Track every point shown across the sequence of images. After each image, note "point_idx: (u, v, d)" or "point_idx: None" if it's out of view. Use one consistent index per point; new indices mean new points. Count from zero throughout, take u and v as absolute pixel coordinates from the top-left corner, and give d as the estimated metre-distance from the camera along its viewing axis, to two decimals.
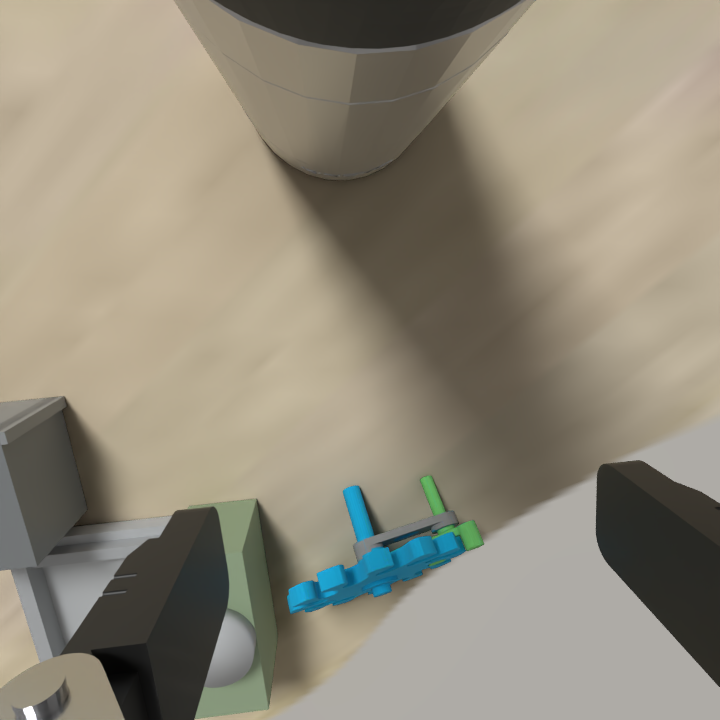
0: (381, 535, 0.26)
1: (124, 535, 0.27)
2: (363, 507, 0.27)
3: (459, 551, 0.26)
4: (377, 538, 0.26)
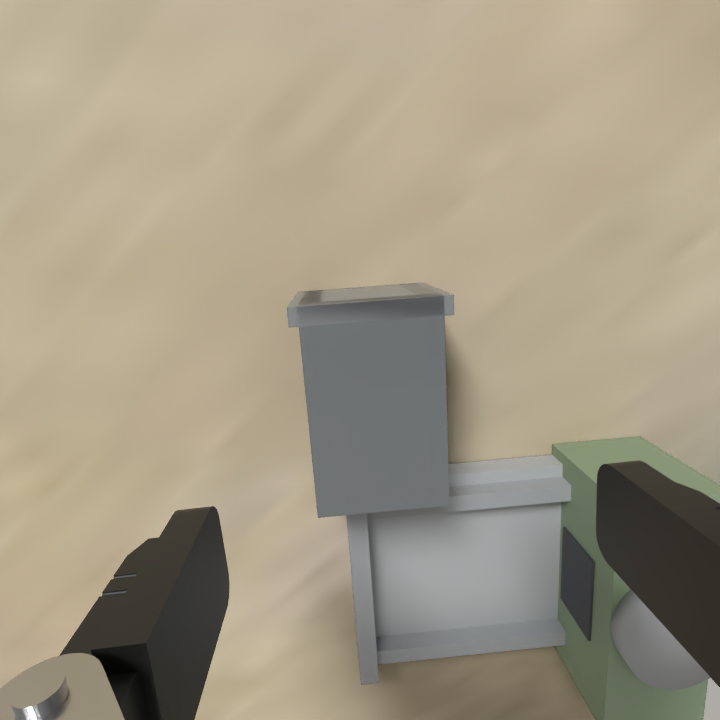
0: None
1: (480, 479, 0.20)
2: None
3: None
4: None
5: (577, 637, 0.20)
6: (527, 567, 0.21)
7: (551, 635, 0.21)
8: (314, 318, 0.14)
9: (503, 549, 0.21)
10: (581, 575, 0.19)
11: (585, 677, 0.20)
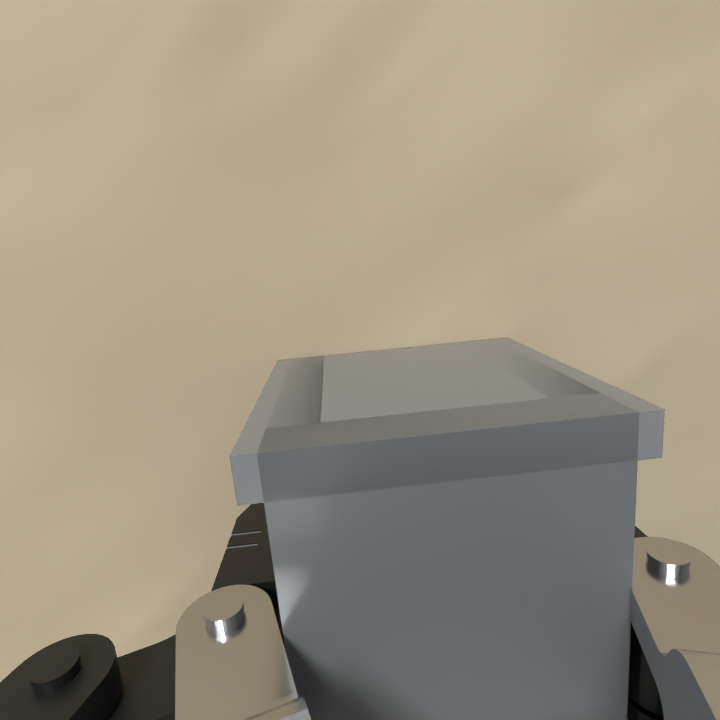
0: None
1: None
2: None
3: None
4: None
5: None
6: None
7: None
8: (304, 480, 0.05)
9: None
10: None
11: None
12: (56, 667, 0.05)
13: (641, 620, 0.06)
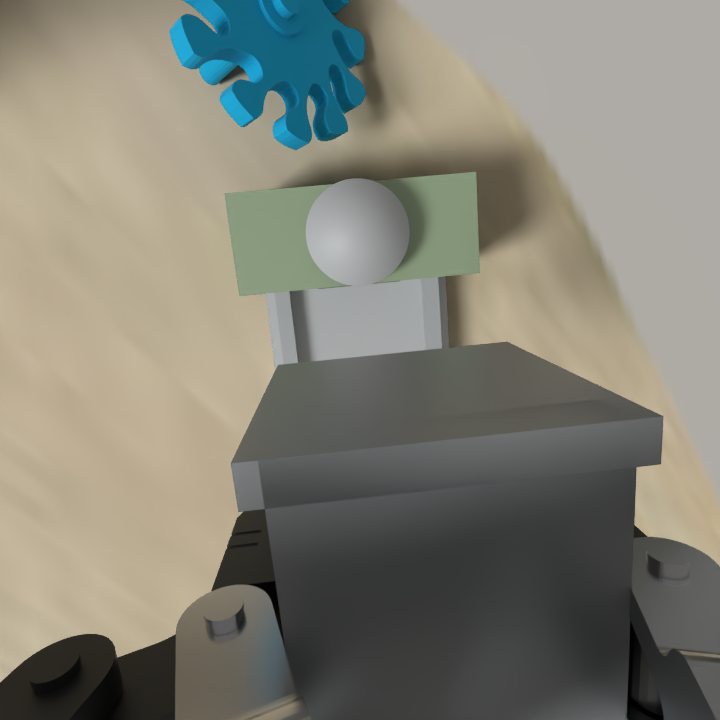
0: None
1: (280, 357, 0.24)
2: None
3: None
4: None
5: None
6: (365, 308, 0.24)
7: (426, 287, 0.23)
8: (304, 487, 0.05)
9: (347, 331, 0.24)
10: None
11: None
12: (56, 667, 0.05)
13: (641, 620, 0.06)
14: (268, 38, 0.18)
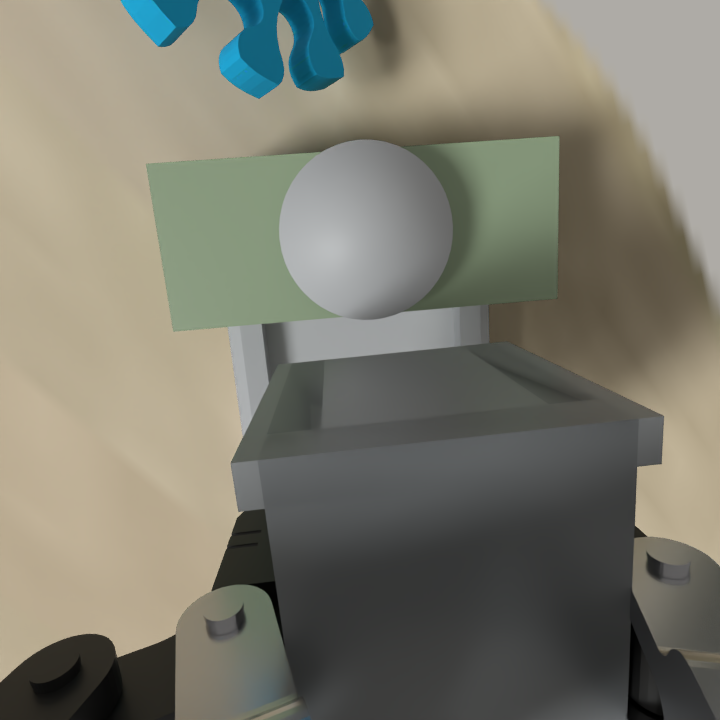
0: None
1: (249, 411, 0.17)
2: None
3: None
4: None
5: None
6: (372, 341, 0.17)
7: (462, 313, 0.16)
8: (304, 487, 0.05)
9: None
10: None
11: None
12: (56, 667, 0.05)
13: (641, 620, 0.06)
14: None
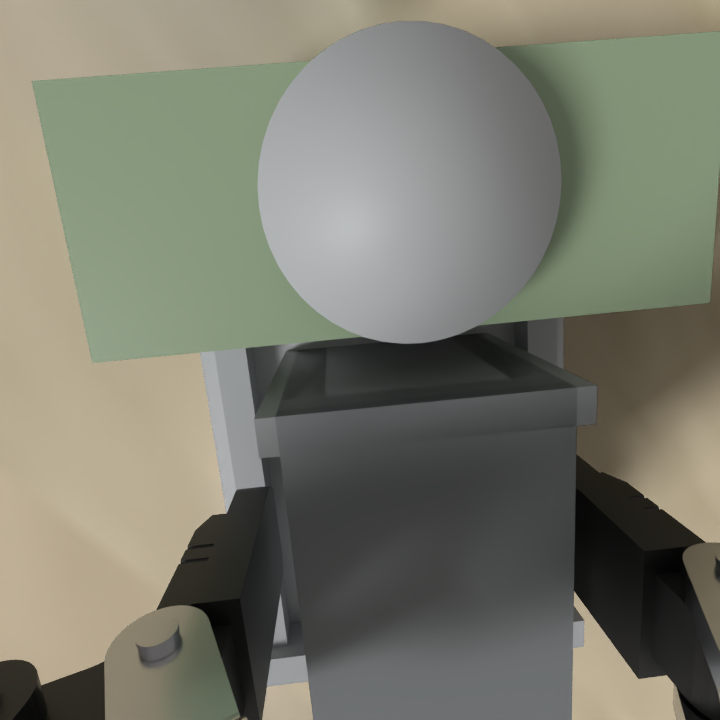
0: None
1: (231, 460, 0.12)
2: None
3: None
4: None
5: None
6: None
7: (531, 324, 0.11)
8: (311, 439, 0.07)
9: None
10: None
11: None
12: None
13: None
14: None
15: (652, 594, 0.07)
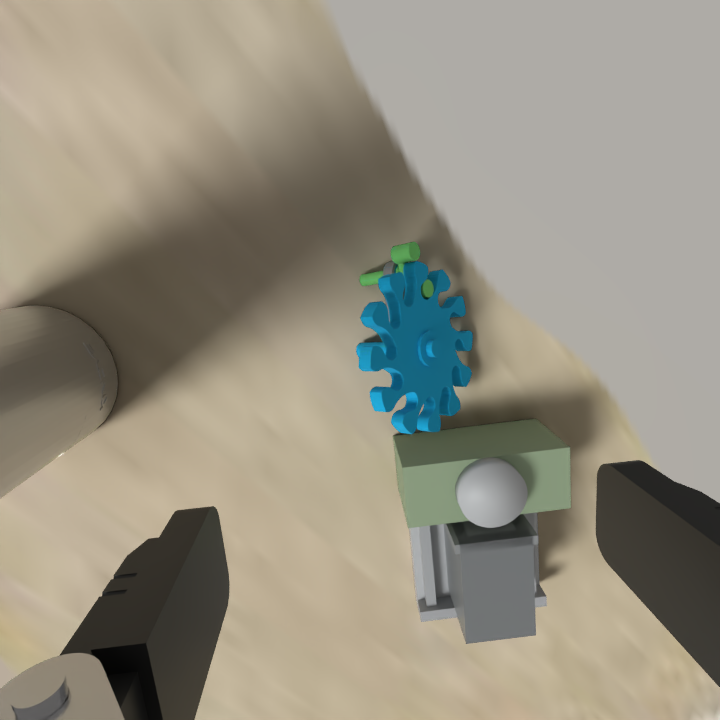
0: None
1: (416, 539, 0.34)
2: (372, 344, 0.30)
3: (413, 268, 0.27)
4: None
5: None
6: None
7: None
8: (468, 549, 0.28)
9: None
10: None
11: None
12: None
13: None
14: (421, 374, 0.27)
15: None
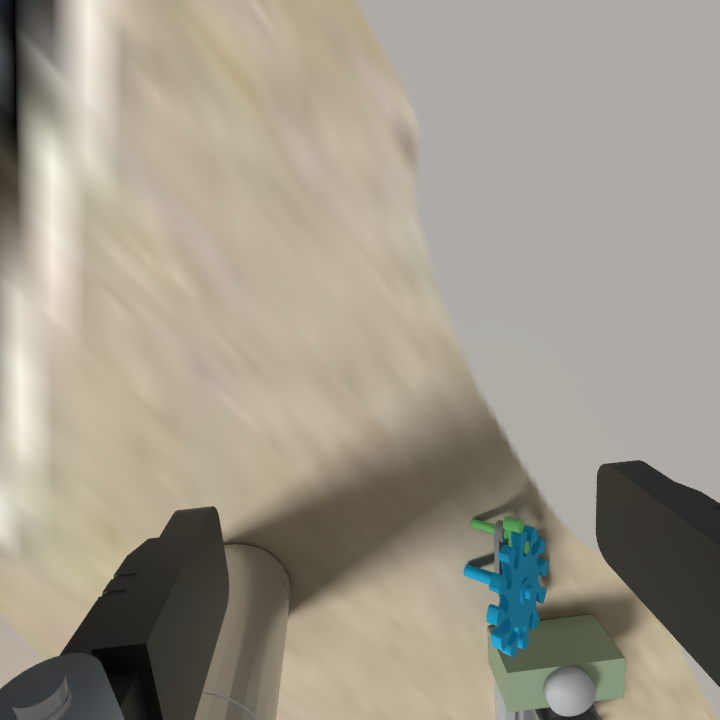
0: None
1: (502, 702, 0.45)
2: (478, 572, 0.41)
3: (520, 538, 0.38)
4: None
5: None
6: None
7: None
8: None
9: None
10: None
11: None
12: None
13: None
14: (520, 611, 0.38)
15: None
